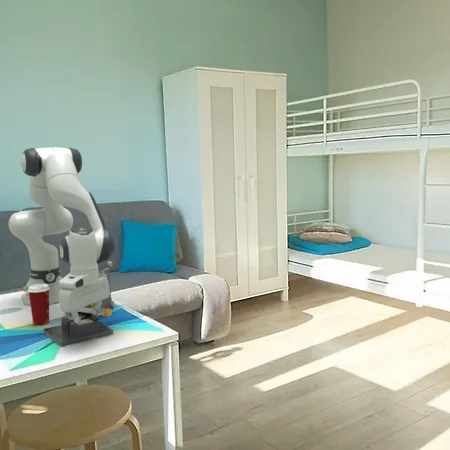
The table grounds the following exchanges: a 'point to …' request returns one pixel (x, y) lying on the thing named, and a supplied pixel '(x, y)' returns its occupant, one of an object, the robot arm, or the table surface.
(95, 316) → the electrical component
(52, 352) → the table surface
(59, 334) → the tray
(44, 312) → the paper cup
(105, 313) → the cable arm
